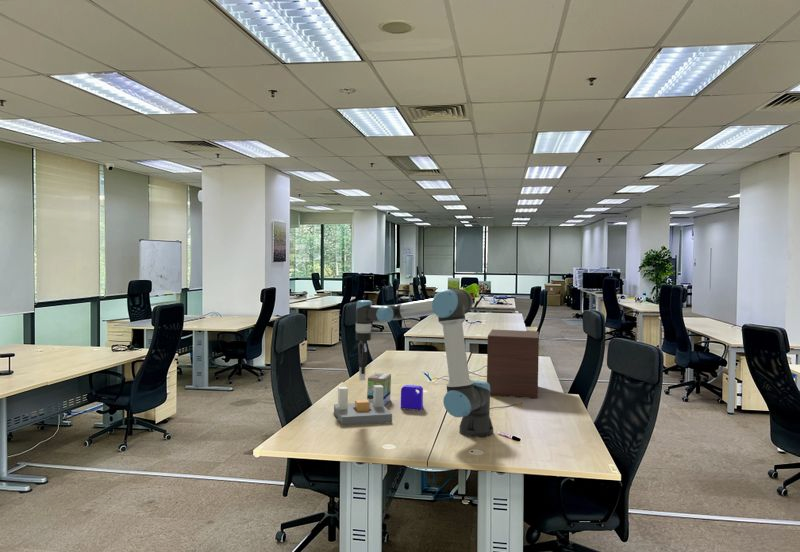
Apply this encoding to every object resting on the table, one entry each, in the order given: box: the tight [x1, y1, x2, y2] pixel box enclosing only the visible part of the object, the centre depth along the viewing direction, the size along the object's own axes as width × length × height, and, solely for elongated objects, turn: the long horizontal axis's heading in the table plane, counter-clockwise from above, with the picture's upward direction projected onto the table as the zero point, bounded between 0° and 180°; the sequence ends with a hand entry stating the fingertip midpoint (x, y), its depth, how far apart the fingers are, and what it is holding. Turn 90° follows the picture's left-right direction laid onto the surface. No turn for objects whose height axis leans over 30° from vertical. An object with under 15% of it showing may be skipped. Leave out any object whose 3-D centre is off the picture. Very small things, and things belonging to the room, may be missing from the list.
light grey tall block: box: [373, 385, 384, 408], centre depth 266 cm, size 5×4×10 cm
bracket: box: [400, 384, 424, 411], centre depth 284 cm, size 18×11×12 cm, turn 167°
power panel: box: [333, 402, 393, 427], centre depth 259 cm, size 24×24×4 cm
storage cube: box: [486, 329, 540, 399], centre depth 324 cm, size 35×29×35 cm
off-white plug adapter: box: [337, 385, 349, 410], centre depth 261 cm, size 5×4×10 cm
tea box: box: [366, 372, 392, 406], centre depth 289 cm, size 15×10×15 cm
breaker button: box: [354, 398, 370, 412], centre depth 259 cm, size 6×6×5 cm
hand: (362, 380), depth 259 cm, fingers closed
